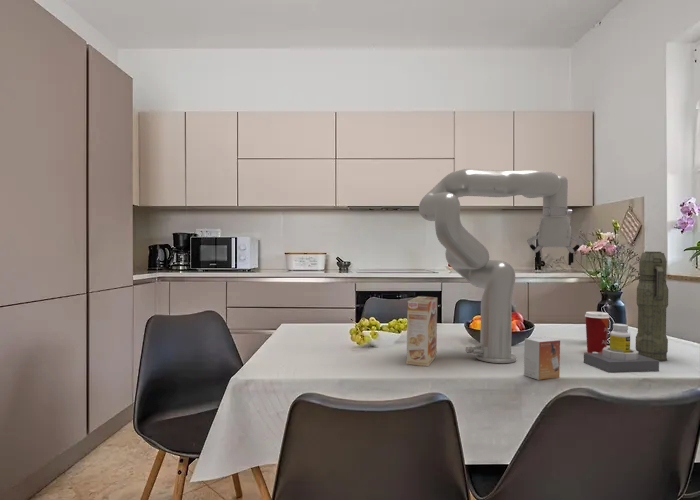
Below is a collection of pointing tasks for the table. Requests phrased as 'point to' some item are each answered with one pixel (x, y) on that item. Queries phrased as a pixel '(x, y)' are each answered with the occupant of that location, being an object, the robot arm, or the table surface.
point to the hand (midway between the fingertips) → (554, 264)
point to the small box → (542, 358)
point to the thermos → (652, 306)
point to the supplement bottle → (620, 339)
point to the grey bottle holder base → (621, 361)
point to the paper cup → (596, 331)
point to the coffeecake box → (421, 330)
